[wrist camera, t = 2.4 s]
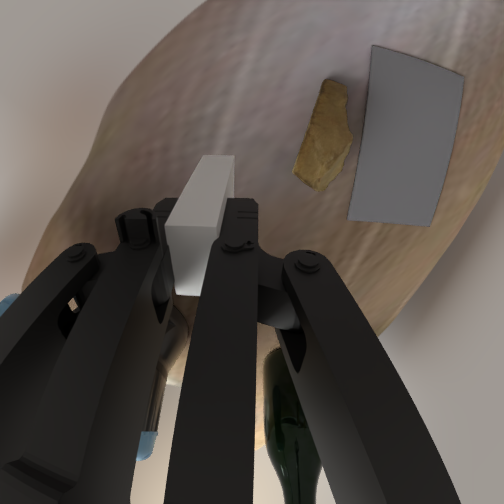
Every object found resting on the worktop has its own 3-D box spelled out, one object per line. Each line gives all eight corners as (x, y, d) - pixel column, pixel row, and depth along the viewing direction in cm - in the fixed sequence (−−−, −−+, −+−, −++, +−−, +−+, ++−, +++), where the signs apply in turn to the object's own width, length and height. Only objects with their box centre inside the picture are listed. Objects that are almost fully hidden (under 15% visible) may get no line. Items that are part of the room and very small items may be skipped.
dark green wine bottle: (257, 372, 52) (255, 540, 25) (269, 341, 46) (272, 546, 19) (309, 375, 53) (322, 535, 26) (328, 346, 47) (353, 535, 20)
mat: (346, 218, 33) (347, 220, 32) (371, 45, 21) (372, 45, 21) (428, 225, 33) (429, 226, 32) (462, 76, 21) (464, 77, 21)
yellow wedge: (314, 49, 20) (242, 130, 24) (394, 88, 16) (305, 187, 20) (353, 109, 29) (299, 171, 32) (411, 151, 25) (349, 220, 28)
